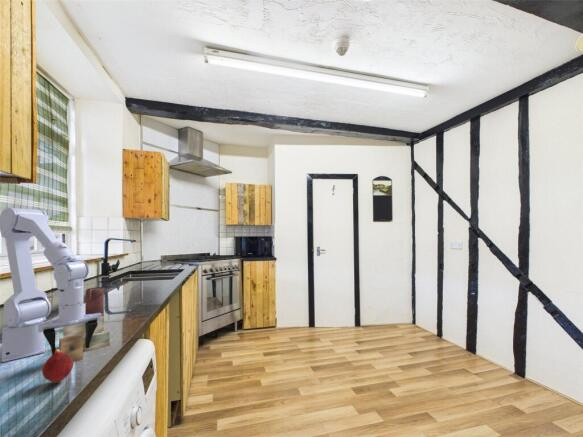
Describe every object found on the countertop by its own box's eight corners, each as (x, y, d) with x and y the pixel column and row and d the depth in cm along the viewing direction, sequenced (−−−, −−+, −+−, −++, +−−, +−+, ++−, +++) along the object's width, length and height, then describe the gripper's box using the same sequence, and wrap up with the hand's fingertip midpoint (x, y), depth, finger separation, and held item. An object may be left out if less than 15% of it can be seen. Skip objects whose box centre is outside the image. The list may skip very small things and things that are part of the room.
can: (82, 327, 112) (82, 290, 112) (88, 322, 118) (89, 287, 118) (100, 325, 113) (100, 289, 114) (106, 320, 120) (106, 286, 120)
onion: (78, 376, 74) (78, 344, 74) (61, 388, 68) (61, 354, 69) (54, 377, 74) (55, 345, 74) (35, 389, 68) (36, 354, 68)
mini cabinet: (60, 366, 80) (61, 343, 80) (58, 359, 84) (59, 338, 84) (83, 360, 84) (83, 338, 84) (80, 354, 88) (80, 333, 88)
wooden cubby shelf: (66, 355, 87) (67, 331, 87) (63, 345, 94) (63, 323, 94) (109, 344, 94) (109, 322, 94) (103, 336, 101) (103, 316, 102)
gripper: (39, 311, 77) (38, 363, 76) (103, 301, 87) (103, 347, 86) (37, 306, 82) (37, 355, 81) (98, 297, 92) (98, 341, 91)
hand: (71, 351), depth 84 cm, fingers open, 7 cm apart
